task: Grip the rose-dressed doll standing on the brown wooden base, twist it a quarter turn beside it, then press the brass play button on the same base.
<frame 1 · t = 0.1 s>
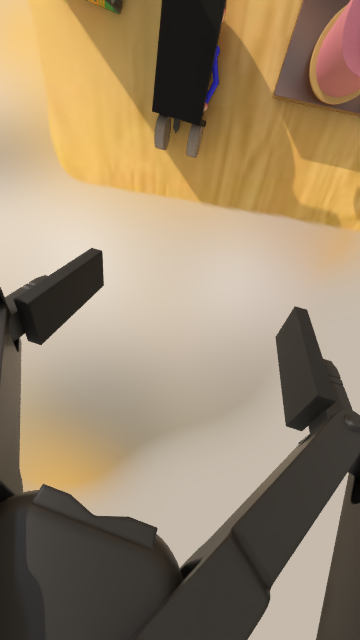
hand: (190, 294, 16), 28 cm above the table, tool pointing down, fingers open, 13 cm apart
figurine character: (195, 81, 29), on the table
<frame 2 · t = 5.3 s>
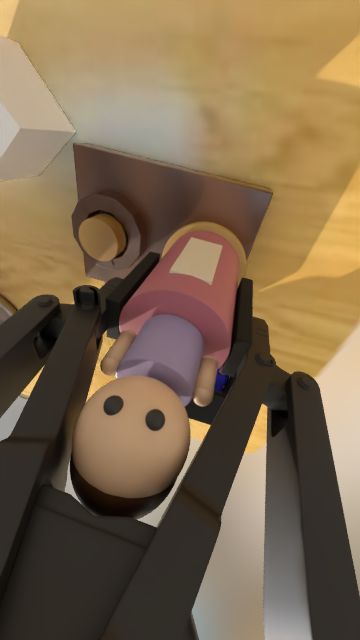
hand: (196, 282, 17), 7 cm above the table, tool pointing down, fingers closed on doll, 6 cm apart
figurine character: (204, 362, 32), on the table
doll: (177, 326, 13), point 12 cm above the table, hinge at 0.0°, touching gripper
brown wooden base: (165, 237, 23), on the table
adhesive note: (32, 118, 20), on the table
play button: (103, 237, 20), point 4 cm above the table, slide at 0.1 cm
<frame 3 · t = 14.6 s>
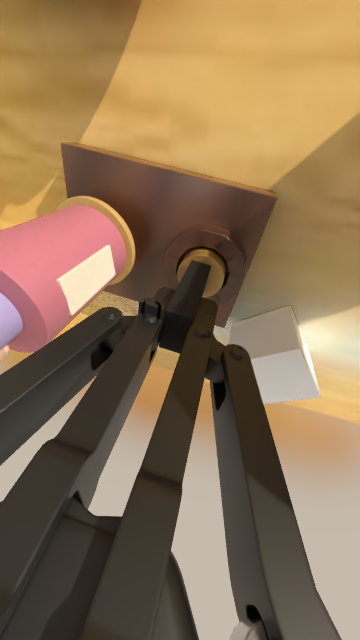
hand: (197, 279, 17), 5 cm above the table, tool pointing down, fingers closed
doll: (11, 297, 12), point 12 cm above the table, hinge at 100.4°
brown wooden base: (162, 242, 21), on the table
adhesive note: (269, 335, 25), on the table
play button: (201, 272, 18), point 4 cm above the table, slide at -0.4 cm, touching gripper
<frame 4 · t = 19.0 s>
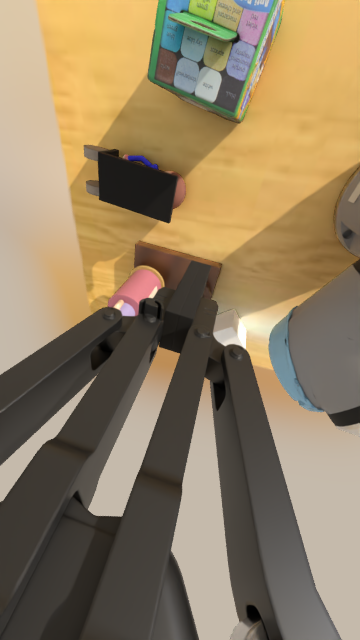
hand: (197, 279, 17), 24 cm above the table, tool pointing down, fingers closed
figurine character: (143, 179, 37), on the table
doll: (128, 307, 37), point 12 cm above the table, hinge at 100.4°
brown wooden base: (174, 280, 46), on the table
chalk box: (224, 62, 27), on the table
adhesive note: (227, 323, 49), on the table
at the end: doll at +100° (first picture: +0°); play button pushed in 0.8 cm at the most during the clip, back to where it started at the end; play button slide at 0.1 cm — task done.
